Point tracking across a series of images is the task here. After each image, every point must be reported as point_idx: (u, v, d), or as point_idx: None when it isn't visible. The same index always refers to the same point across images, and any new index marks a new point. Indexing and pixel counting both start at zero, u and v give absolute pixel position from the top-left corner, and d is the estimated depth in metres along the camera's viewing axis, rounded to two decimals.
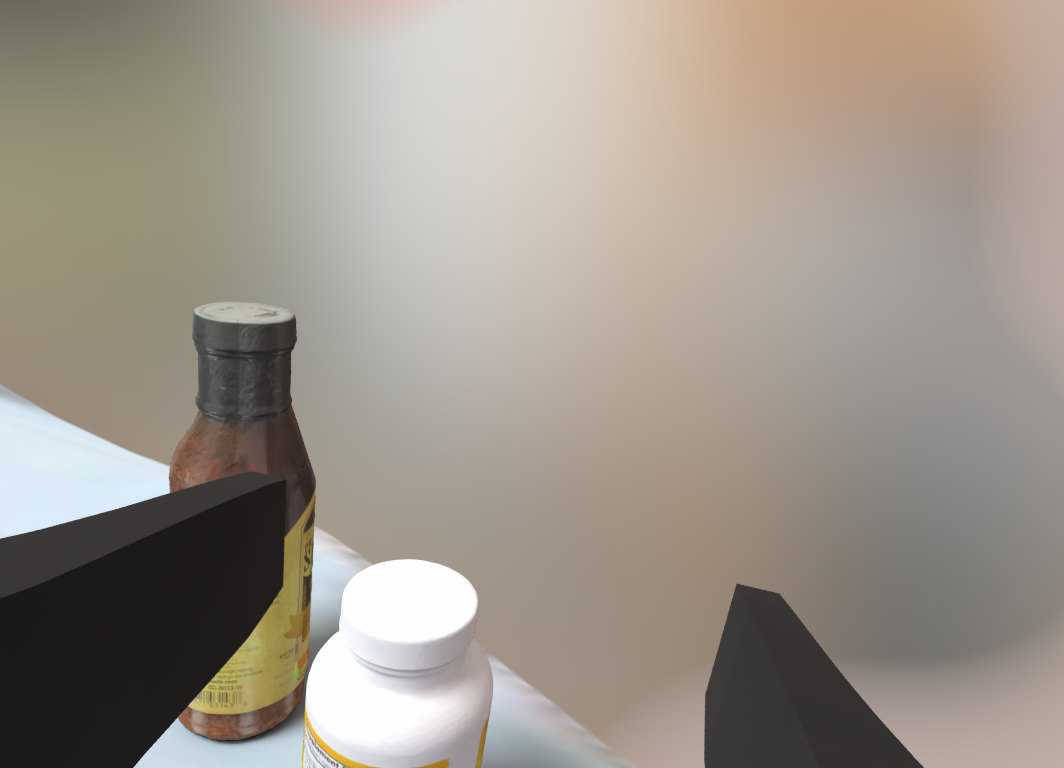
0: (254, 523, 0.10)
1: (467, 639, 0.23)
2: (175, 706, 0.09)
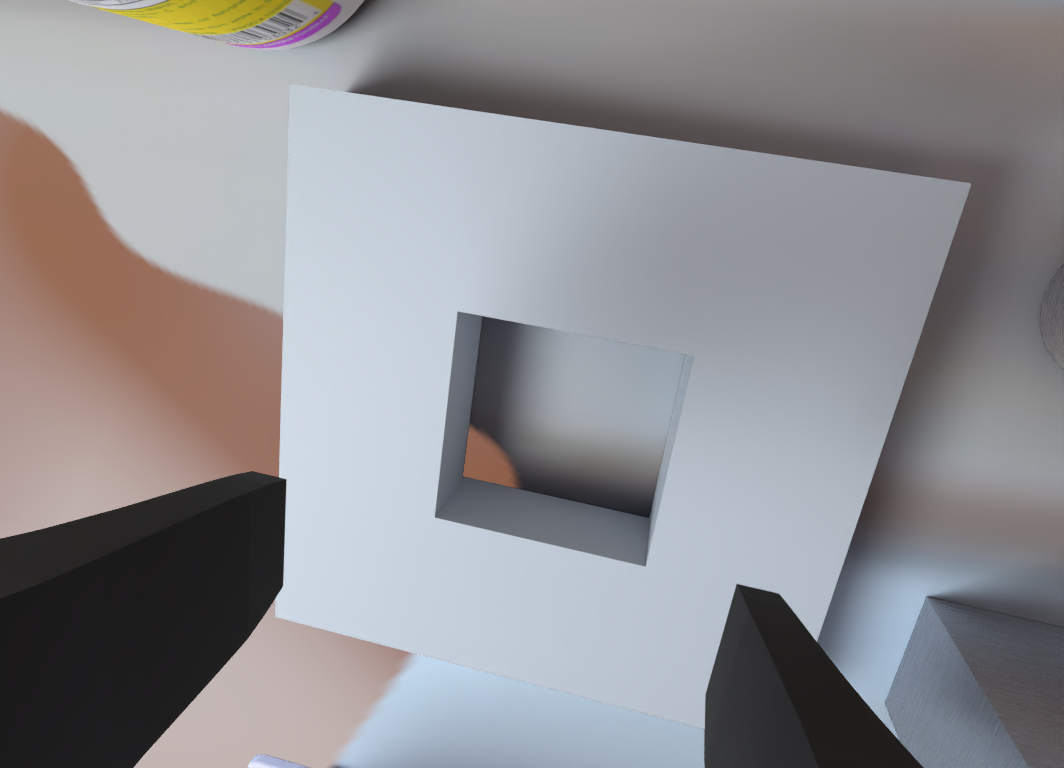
0: (254, 523, 0.10)
1: None
2: (175, 706, 0.09)
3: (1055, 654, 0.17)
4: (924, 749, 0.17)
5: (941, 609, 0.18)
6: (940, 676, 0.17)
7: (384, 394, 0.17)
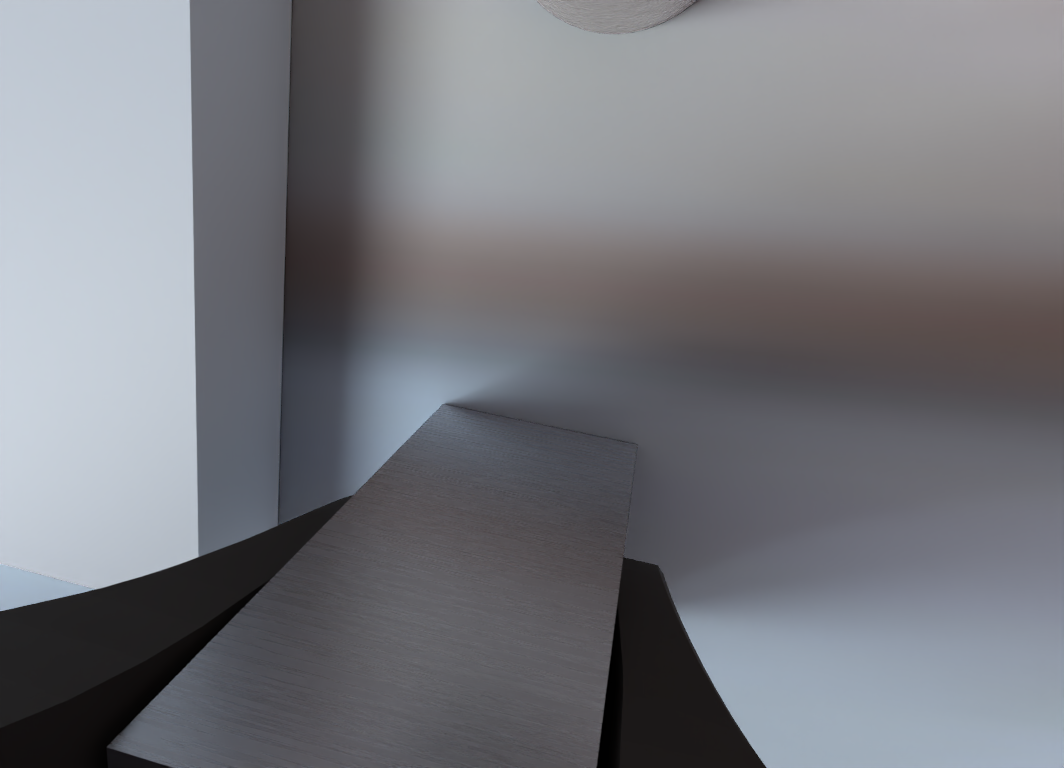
0: None
1: None
2: None
3: (565, 462, 0.11)
4: None
5: (445, 415, 0.12)
6: None
7: None
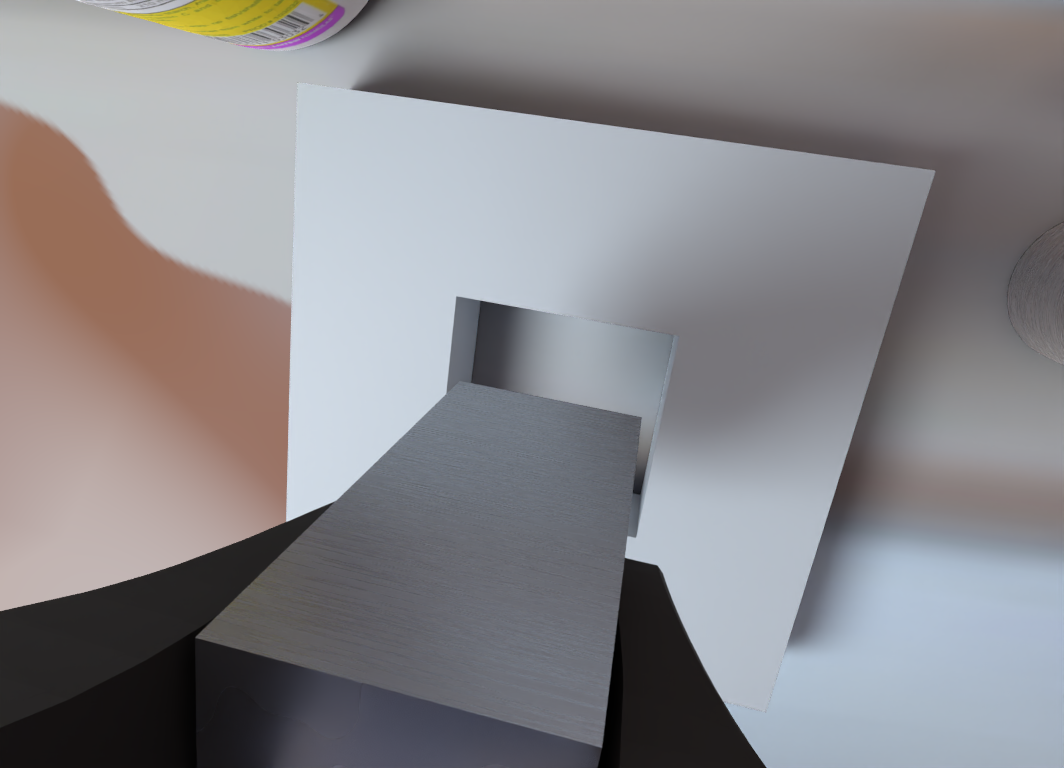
0: None
1: None
2: None
3: (575, 430, 0.12)
4: None
5: (463, 390, 0.13)
6: None
7: (387, 376, 0.18)
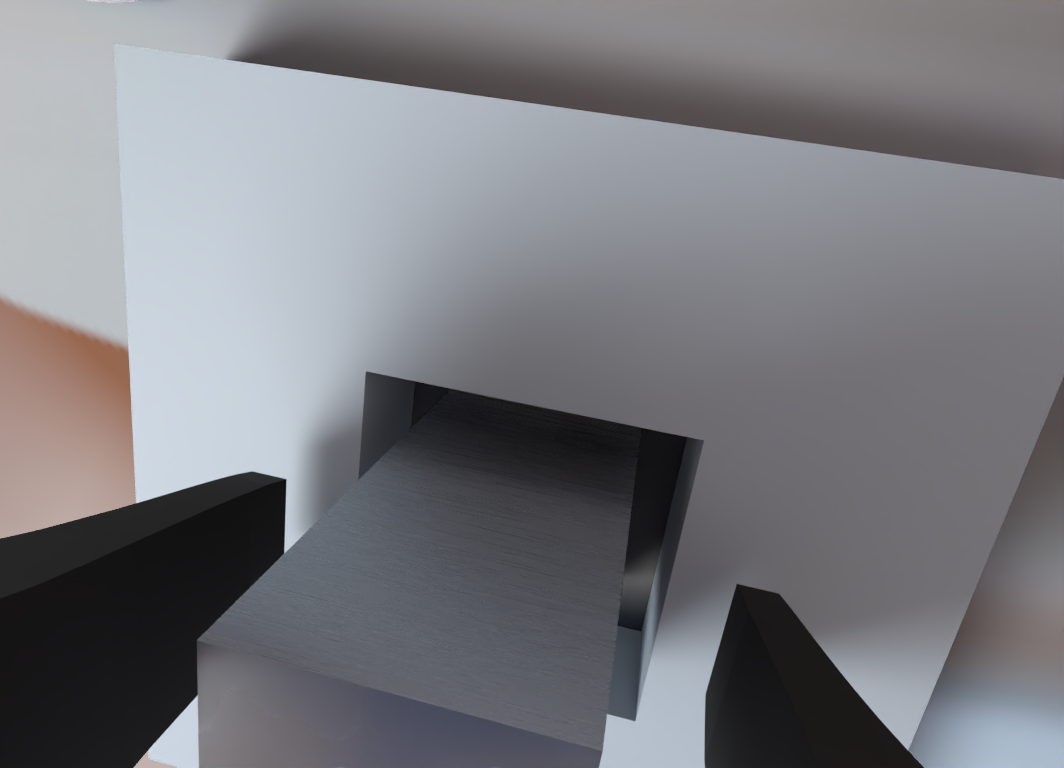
0: (254, 523, 0.10)
1: None
2: (175, 706, 0.09)
3: (576, 430, 0.12)
4: None
5: None
6: None
7: None
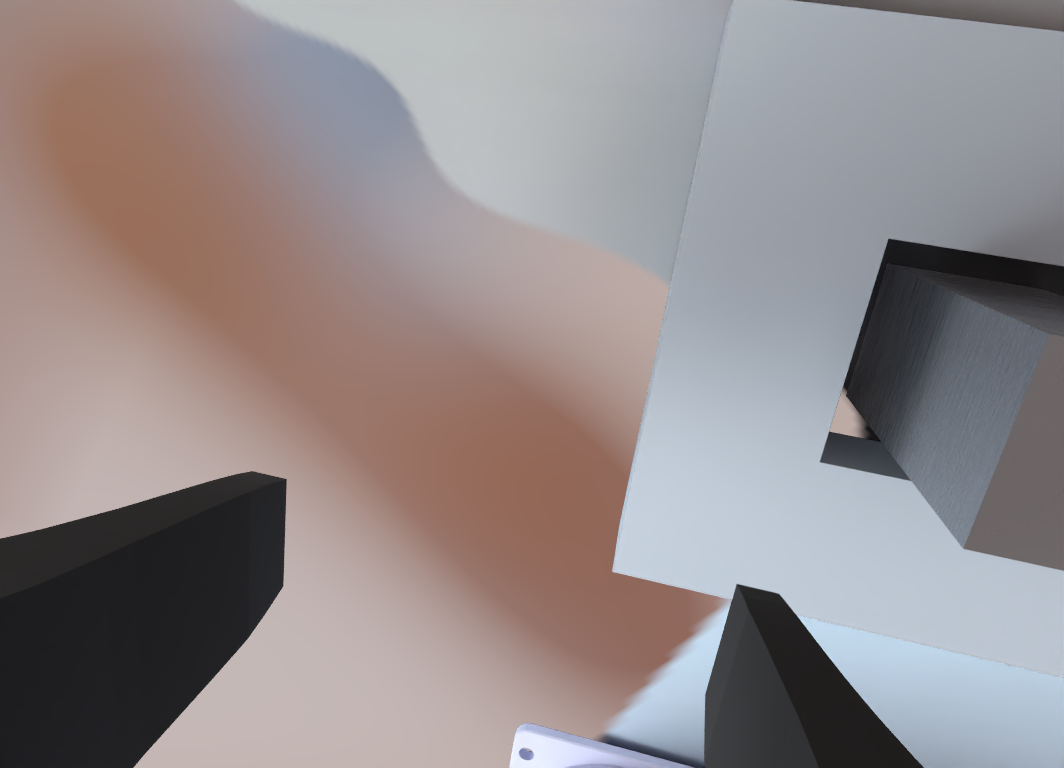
0: (254, 523, 0.10)
1: None
2: (175, 706, 0.09)
3: (1018, 289, 0.16)
4: (882, 393, 0.16)
5: (901, 267, 0.17)
6: (898, 316, 0.16)
7: (784, 330, 0.16)
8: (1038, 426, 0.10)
